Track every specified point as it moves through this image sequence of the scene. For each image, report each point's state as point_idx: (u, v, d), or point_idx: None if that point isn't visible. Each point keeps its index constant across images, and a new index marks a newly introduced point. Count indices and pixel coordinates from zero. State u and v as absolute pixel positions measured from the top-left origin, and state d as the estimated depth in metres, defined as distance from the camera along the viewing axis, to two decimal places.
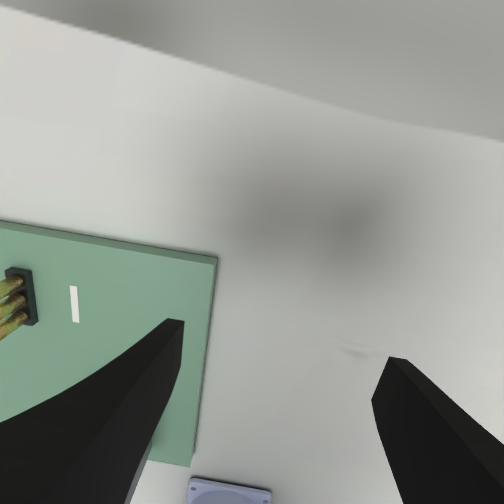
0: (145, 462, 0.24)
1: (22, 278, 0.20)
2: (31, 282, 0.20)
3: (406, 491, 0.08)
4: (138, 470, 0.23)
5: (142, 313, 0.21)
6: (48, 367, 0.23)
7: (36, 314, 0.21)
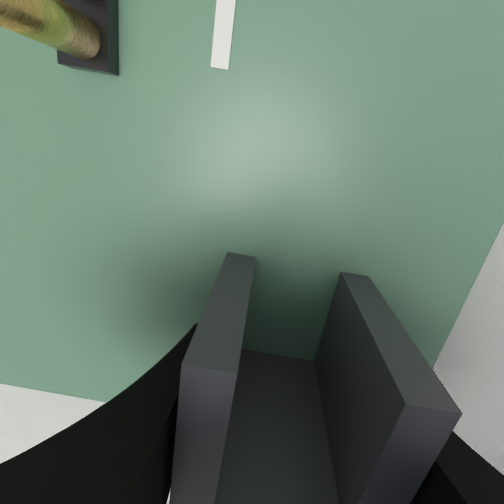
0: None
1: None
2: None
3: None
4: None
5: (409, 26, 0.08)
6: (129, 219, 0.10)
7: (116, 48, 0.08)
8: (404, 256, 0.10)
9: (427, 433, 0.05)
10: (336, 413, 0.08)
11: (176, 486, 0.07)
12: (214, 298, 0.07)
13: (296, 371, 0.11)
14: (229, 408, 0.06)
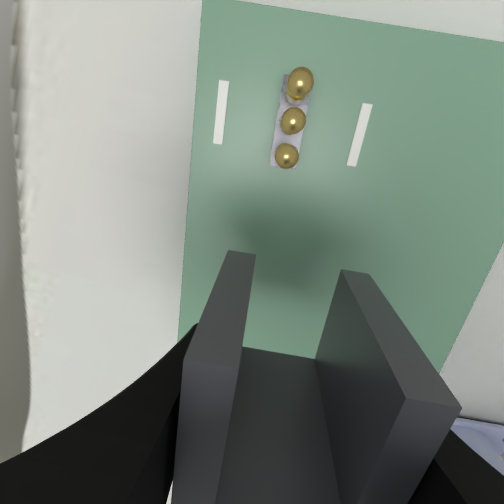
0: None
1: None
2: None
3: None
4: None
5: (452, 147, 0.15)
6: (285, 242, 0.18)
7: None
8: (445, 263, 0.17)
9: (427, 427, 0.05)
10: (337, 409, 0.08)
11: (178, 481, 0.07)
12: (215, 295, 0.07)
13: (297, 368, 0.11)
14: (230, 403, 0.06)
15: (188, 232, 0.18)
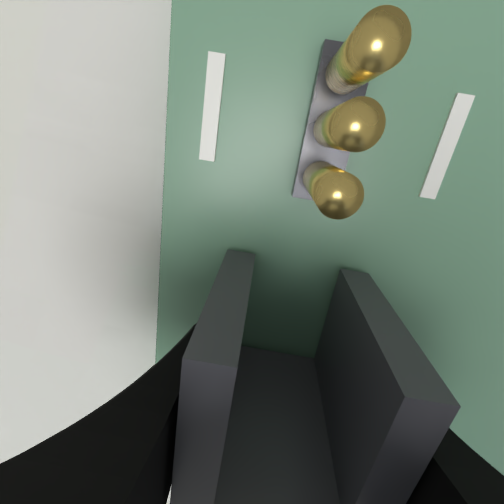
0: None
1: None
2: None
3: None
4: None
5: None
6: (312, 310, 0.11)
7: None
8: None
9: (426, 426, 0.05)
10: (336, 409, 0.08)
11: (177, 480, 0.07)
12: (214, 294, 0.07)
13: (296, 368, 0.11)
14: (229, 402, 0.06)
15: (163, 293, 0.12)
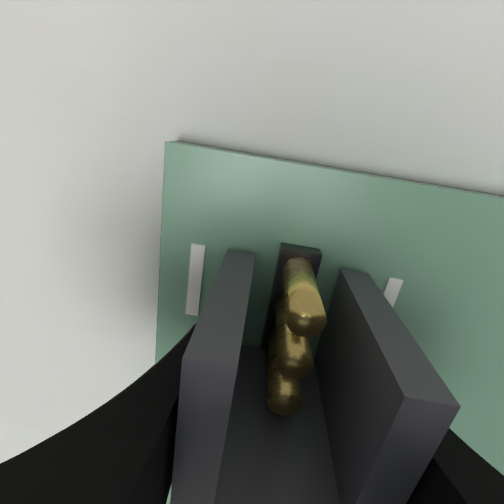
0: None
1: (313, 264, 0.10)
2: None
3: None
4: None
5: None
6: None
7: None
8: (489, 451, 0.13)
9: (426, 426, 0.05)
10: (336, 409, 0.08)
11: (177, 480, 0.07)
12: (214, 294, 0.07)
13: None
14: (229, 402, 0.06)
15: None
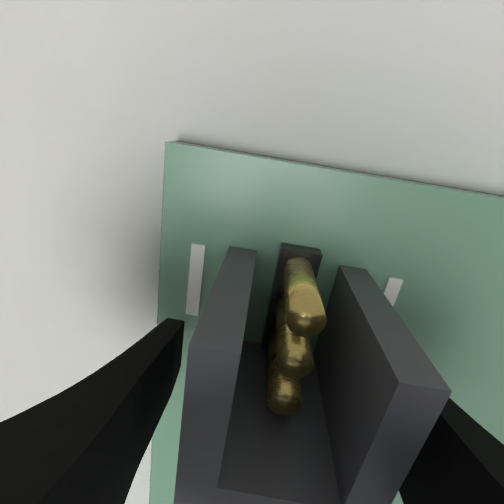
0: None
1: (313, 264, 0.10)
2: None
3: (406, 491, 0.08)
4: None
5: None
6: None
7: None
8: None
9: (419, 411, 0.06)
10: (334, 399, 0.09)
11: (182, 465, 0.07)
12: (217, 287, 0.08)
13: None
14: (233, 388, 0.06)
15: None
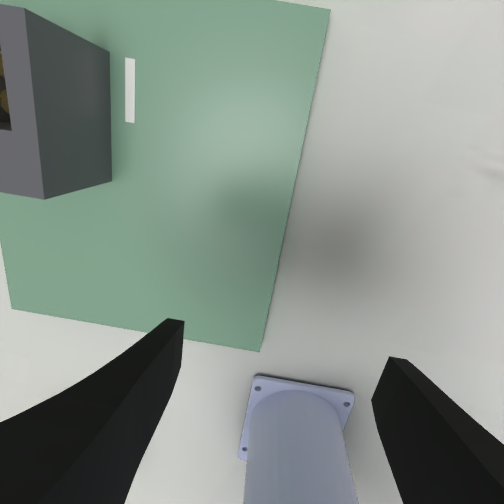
0: (99, 183, 0.16)
1: None
2: None
3: (406, 491, 0.08)
4: (82, 160, 0.14)
5: (221, 103, 0.15)
6: (88, 202, 0.18)
7: None
8: (242, 222, 0.18)
9: (15, 27, 0.10)
10: None
11: None
12: None
13: None
14: None
15: None
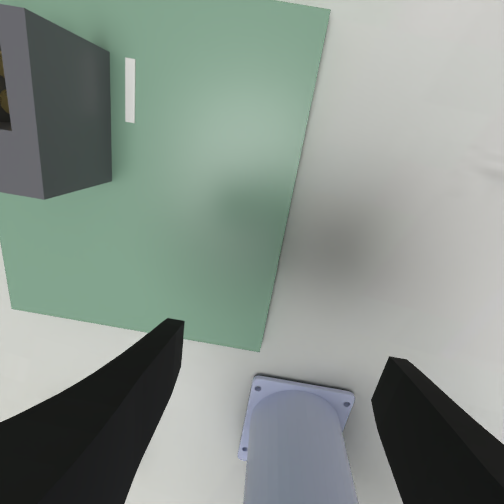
0: (99, 183, 0.16)
1: None
2: None
3: (406, 491, 0.08)
4: (82, 160, 0.14)
5: (221, 103, 0.15)
6: (88, 202, 0.18)
7: None
8: (242, 222, 0.18)
9: (15, 27, 0.10)
10: None
11: None
12: None
13: None
14: None
15: None
